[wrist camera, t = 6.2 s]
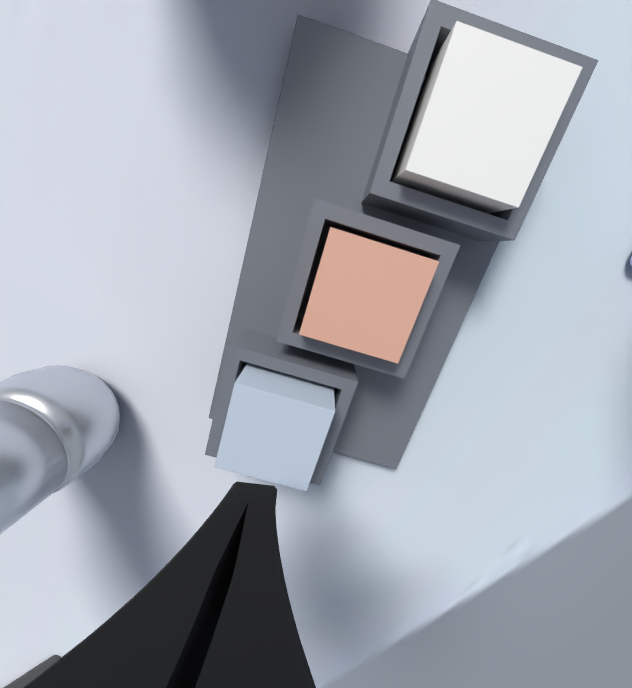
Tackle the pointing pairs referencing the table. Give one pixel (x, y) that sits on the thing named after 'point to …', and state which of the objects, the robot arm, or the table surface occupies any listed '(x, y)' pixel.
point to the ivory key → (484, 120)
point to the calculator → (33, 673)
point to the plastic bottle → (50, 434)
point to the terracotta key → (366, 295)
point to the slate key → (275, 426)
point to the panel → (362, 228)
